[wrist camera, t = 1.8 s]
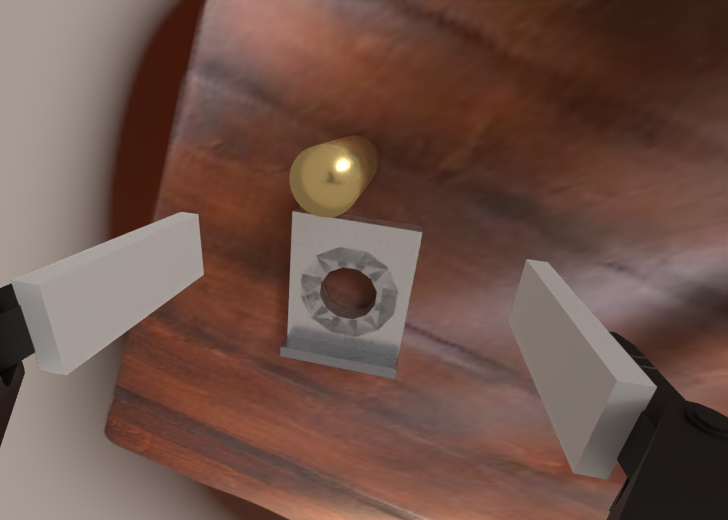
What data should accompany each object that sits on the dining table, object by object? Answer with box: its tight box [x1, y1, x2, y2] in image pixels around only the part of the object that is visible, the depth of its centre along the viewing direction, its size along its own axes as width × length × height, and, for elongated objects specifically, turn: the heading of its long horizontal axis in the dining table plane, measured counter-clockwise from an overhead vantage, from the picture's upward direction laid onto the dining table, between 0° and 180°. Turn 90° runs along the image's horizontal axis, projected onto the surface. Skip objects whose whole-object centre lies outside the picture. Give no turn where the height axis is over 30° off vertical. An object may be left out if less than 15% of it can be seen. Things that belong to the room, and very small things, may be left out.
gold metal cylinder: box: [289, 135, 380, 218], centre depth 27 cm, size 4×4×11 cm
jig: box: [280, 206, 423, 379], centre depth 35 cm, size 15×12×4 cm
